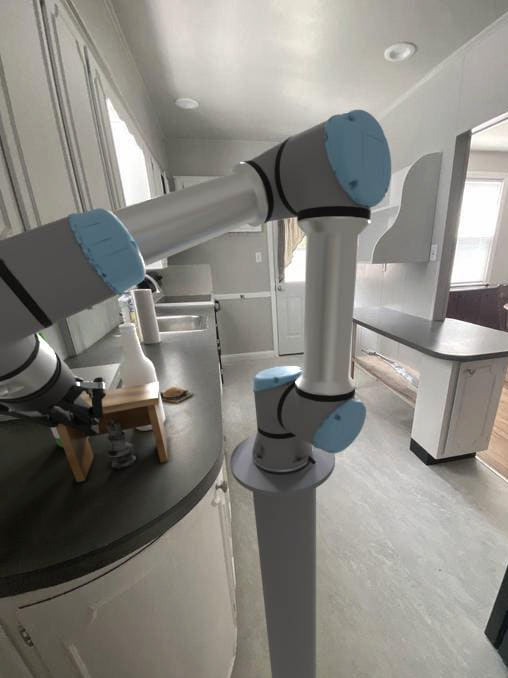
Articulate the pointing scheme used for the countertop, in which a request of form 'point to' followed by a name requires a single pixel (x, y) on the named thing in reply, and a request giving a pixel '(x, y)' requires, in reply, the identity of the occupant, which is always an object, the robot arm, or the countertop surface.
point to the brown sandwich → (175, 394)
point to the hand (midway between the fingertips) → (93, 428)
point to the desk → (128, 410)
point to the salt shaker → (119, 446)
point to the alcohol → (136, 365)
